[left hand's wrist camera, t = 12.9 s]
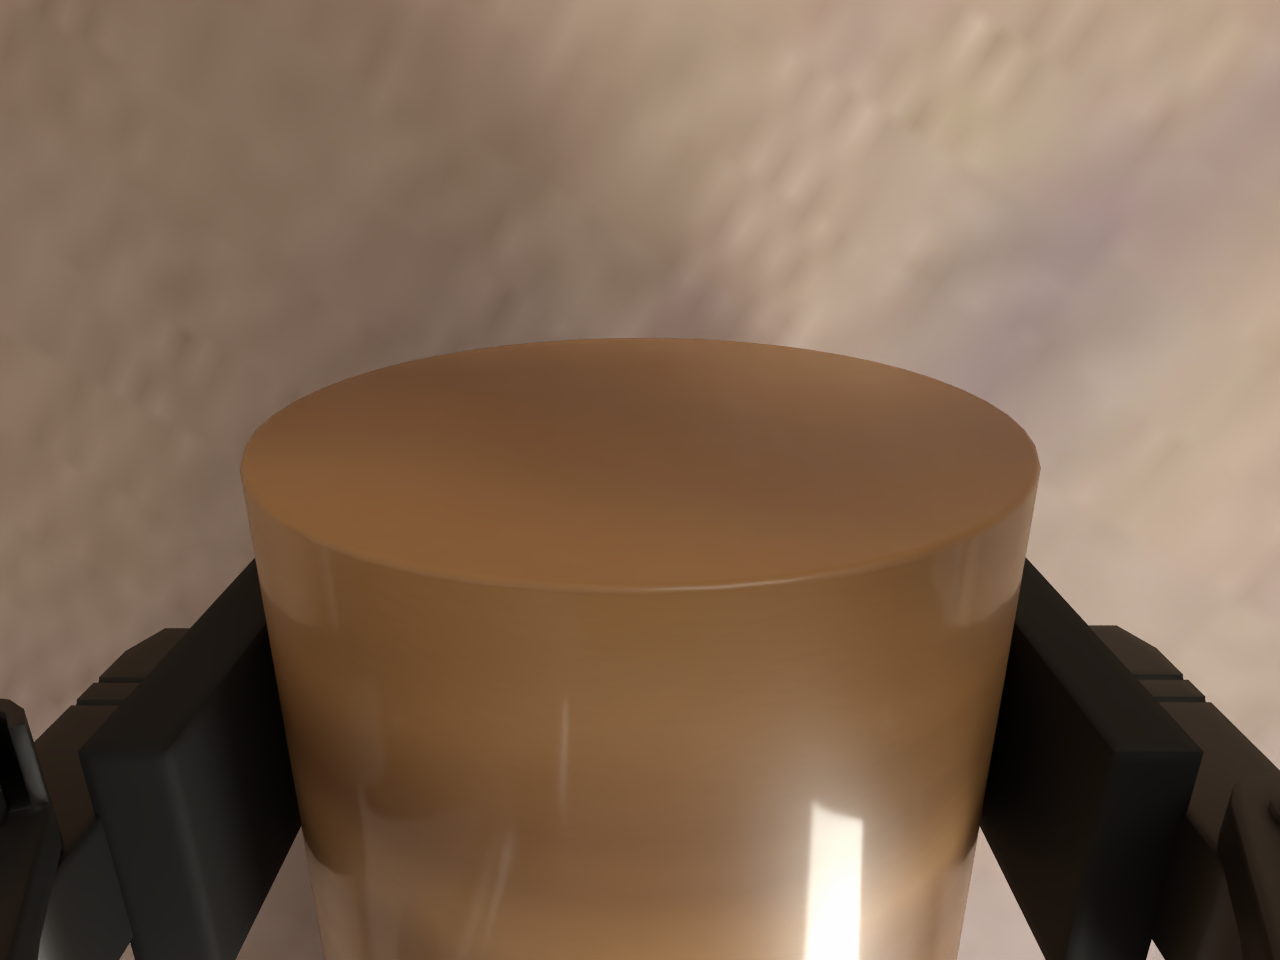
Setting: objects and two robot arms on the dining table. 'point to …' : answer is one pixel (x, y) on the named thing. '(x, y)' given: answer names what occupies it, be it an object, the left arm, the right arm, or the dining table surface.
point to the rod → (640, 649)
